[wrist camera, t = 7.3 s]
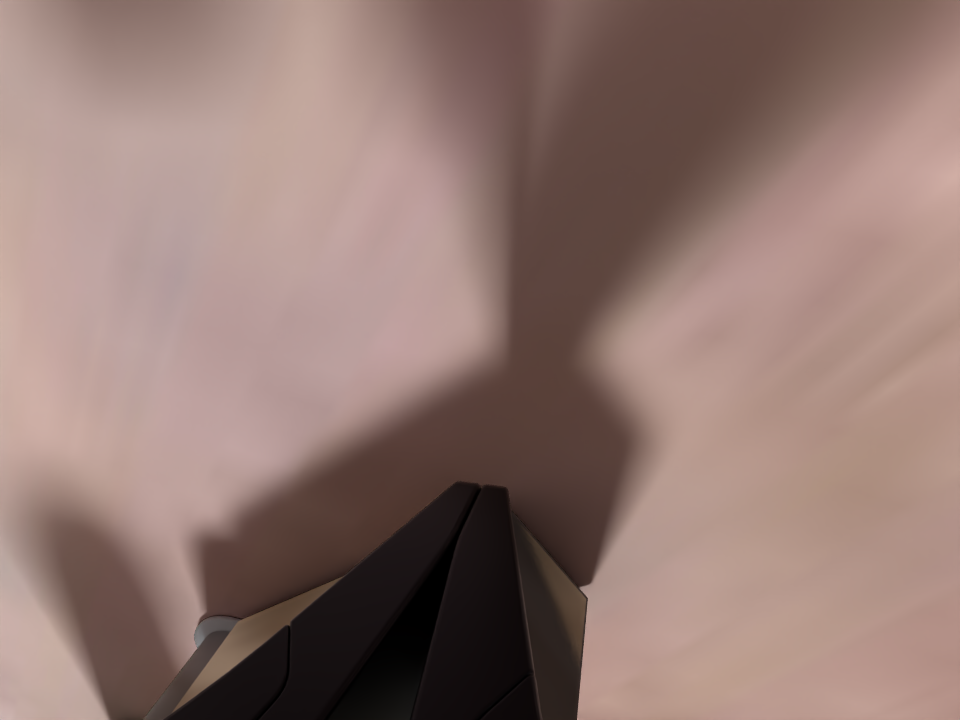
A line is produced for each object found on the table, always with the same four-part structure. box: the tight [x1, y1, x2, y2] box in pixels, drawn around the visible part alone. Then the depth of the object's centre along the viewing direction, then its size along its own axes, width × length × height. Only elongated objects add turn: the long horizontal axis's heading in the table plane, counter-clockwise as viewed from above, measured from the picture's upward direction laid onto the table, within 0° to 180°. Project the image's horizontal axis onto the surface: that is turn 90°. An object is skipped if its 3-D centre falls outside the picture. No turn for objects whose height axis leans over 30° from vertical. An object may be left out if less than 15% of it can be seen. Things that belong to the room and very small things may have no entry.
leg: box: [143, 510, 588, 720], centre depth 12 cm, size 13×3×4 cm, turn 130°
